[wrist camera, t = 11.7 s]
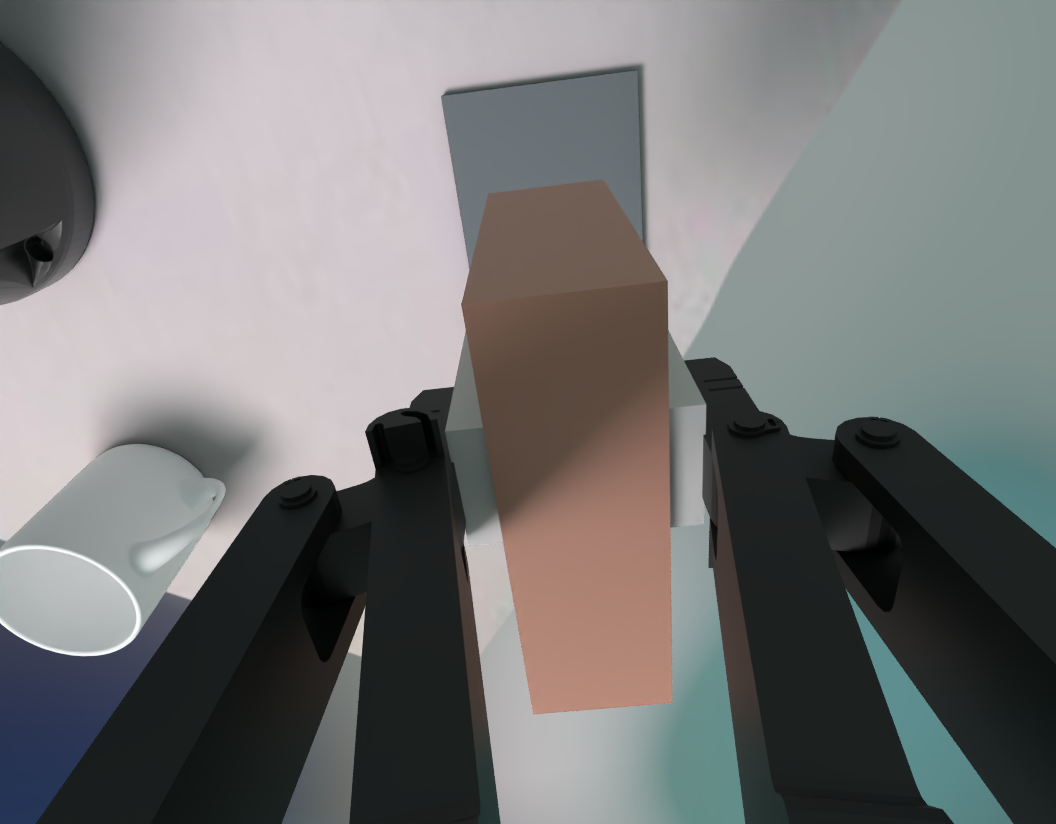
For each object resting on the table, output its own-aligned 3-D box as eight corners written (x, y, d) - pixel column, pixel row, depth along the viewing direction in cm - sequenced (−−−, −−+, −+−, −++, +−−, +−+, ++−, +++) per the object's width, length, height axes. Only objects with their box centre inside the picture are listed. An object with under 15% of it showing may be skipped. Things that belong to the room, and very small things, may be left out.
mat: (482, 343, 40) (482, 347, 40) (442, 95, 33) (440, 96, 33) (643, 325, 40) (645, 329, 39) (635, 70, 33) (637, 70, 32)
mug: (282, 506, 46) (222, 621, 37) (141, 550, 48) (50, 671, 39) (215, 407, 42) (127, 509, 33) (64, 460, 44) (-59, 570, 35)
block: (533, 714, 15) (461, 304, 10) (529, 485, 23) (488, 193, 18) (672, 702, 15) (667, 280, 10) (620, 476, 23) (603, 179, 18)
